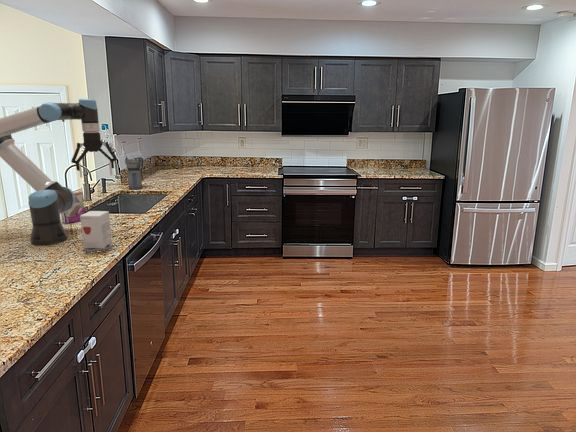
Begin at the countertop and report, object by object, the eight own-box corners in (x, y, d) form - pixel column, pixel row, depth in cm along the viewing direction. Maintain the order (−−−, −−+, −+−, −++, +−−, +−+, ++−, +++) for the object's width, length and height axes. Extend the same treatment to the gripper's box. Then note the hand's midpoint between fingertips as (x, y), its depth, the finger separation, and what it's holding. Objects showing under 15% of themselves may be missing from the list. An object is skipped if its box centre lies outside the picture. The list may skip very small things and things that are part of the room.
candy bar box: (66, 224, 224) (61, 194, 220) (62, 222, 227) (57, 193, 223) (86, 220, 233) (82, 191, 228) (82, 218, 236) (78, 190, 231)
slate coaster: (87, 253, 179) (86, 250, 178) (84, 247, 187) (84, 244, 187) (111, 249, 184) (111, 246, 183) (108, 243, 192) (108, 240, 191)
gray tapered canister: (145, 189, 321) (143, 157, 315) (127, 190, 317) (124, 157, 310) (145, 186, 330) (142, 155, 324) (127, 188, 326) (124, 156, 320)
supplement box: (83, 248, 181) (78, 215, 177) (93, 242, 189) (89, 210, 186) (103, 248, 180) (99, 215, 177) (112, 242, 189) (109, 210, 185)
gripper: (62, 133, 188) (68, 179, 194) (120, 131, 201) (124, 175, 206) (61, 132, 195) (67, 177, 200) (117, 131, 207) (121, 173, 212)
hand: (96, 176), depth 203 cm, fingers open, 13 cm apart
